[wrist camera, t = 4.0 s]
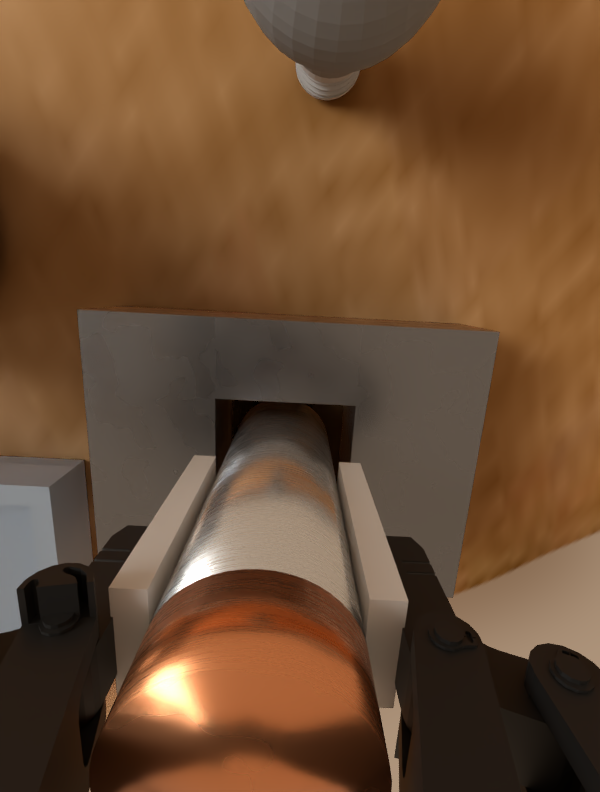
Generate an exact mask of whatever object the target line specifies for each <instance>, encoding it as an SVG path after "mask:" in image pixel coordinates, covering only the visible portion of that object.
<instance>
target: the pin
mask: <svg viewBox="0 0 600 792" xmlns="http://www.w3.org/2000/svg"><path fill="white" fill-rule="evenodd" d="M89 785H90V790H91V792H391V787H392V779H391V771H390V765H389V759H388V754H387V748H386V743H385V738H384V732H383V727H382V722H381V717H380V711H379V706H378V701H377V695H376V690H375V685H374V679H373V674H372V669H371V664H370V658H369V653H368V648H367V642H366V637H365V632H364V627H363V621H362V616H361V611H360V605H359V600H358V595H357V590H356V584H355V579H354V574H353V568H352V563H351V558H350V553H349V547H348V542H347V537H346V531H345V526H344V521H343V516H342V510H341V505H340V500H339V494H338V489H337V484H336V479H335V473H334V468H333V463H332V457H331V452H330V447H329V442H328V436H327V432H326V428H325V426H324V423H323V421H322V420H321V418H320V417H319V415H318V414H317V413H316V412H315V411H314V410H313V409H312V408H310V407H309V406H307V405H306V404H304V403H290V402H270V401H264V402H262V403H260V404H258V405H256V406H255V407H253V408H252V409H251V410H250V411H249V412H248V413H247V414H246V415H245V417H244V418H243V420H242V421H241V423H240V425H239V428H238V430H237V432H236V434H235V437H234V439H233V441H232V443H231V445H230V448H229V450H228V452H227V454H226V456H225V459H224V461H223V463H222V465H221V467H220V470H219V472H218V474H217V476H216V479H215V481H214V483H213V485H212V487H211V490H210V492H209V494H208V496H207V498H206V501H205V503H204V505H203V507H202V509H201V512H200V514H199V516H198V518H197V521H196V523H195V525H194V527H193V529H192V532H191V534H190V536H189V538H188V540H187V543H186V545H185V547H184V549H183V551H182V554H181V556H180V558H179V560H178V563H177V565H176V567H175V569H174V571H173V574H172V576H171V578H170V580H169V582H168V585H167V587H166V589H165V591H164V593H163V596H162V598H161V600H160V602H159V605H158V607H157V609H156V611H155V613H154V616H153V618H152V620H151V622H150V624H149V627H148V629H147V631H146V633H145V635H144V638H143V640H142V642H141V644H140V647H139V649H138V651H137V653H136V655H135V658H134V660H133V662H132V664H131V666H130V669H129V671H128V673H127V675H126V677H125V680H124V682H123V684H122V686H121V689H120V691H119V693H118V695H117V697H116V700H115V702H114V704H113V706H112V708H111V711H110V713H109V715H108V717H107V719H106V722H105V724H104V726H103V728H102V731H101V733H100V735H99V737H98V739H97V742H96V744H95V747H94V750H93V753H92V755H91V761H90V768H89Z"/></svg>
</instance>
